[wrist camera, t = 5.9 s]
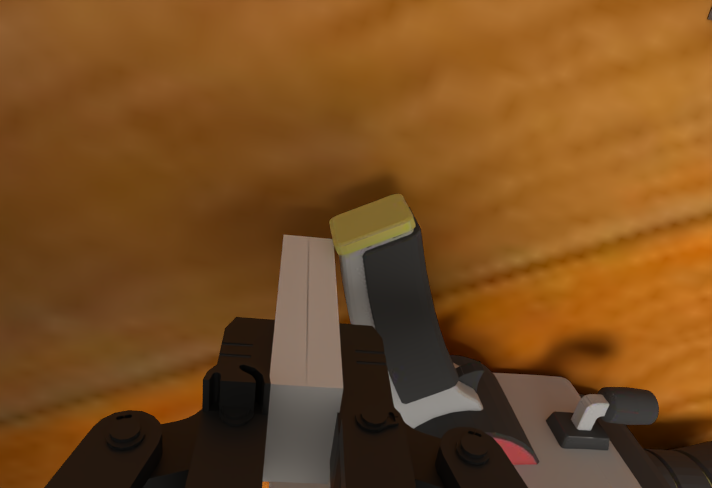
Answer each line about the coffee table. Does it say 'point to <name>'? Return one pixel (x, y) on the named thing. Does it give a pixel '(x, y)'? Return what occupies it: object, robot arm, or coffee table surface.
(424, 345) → the film camera
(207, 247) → the coffee table surface
